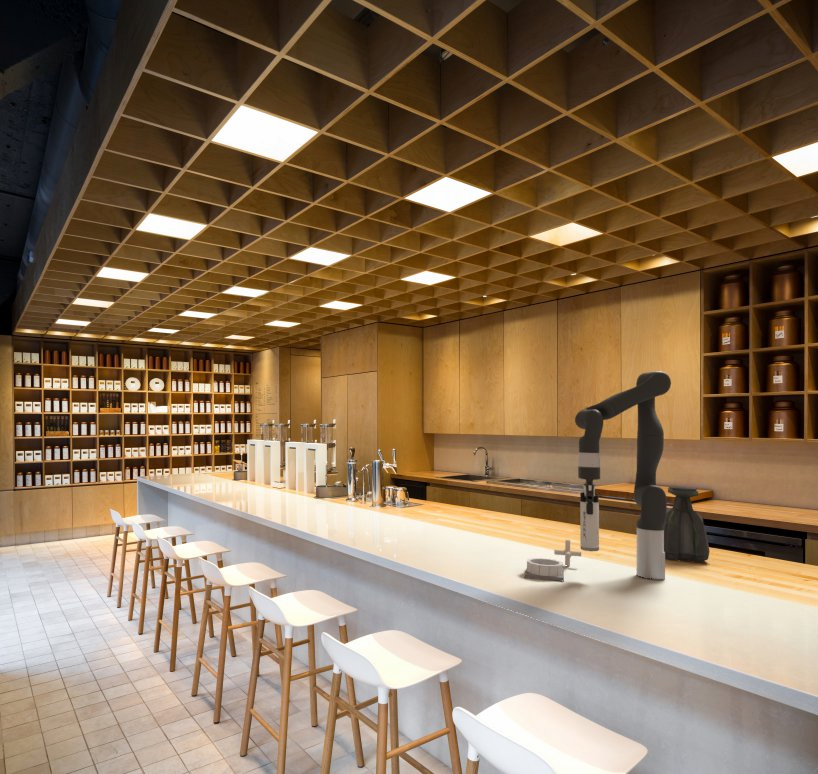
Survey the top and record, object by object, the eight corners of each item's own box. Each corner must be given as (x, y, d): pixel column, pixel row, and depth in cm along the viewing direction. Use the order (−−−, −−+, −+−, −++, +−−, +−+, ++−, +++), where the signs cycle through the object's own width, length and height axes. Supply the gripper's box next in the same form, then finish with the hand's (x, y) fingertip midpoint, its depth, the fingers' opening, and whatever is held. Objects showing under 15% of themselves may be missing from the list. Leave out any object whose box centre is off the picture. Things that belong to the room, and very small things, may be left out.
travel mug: (594, 547, 207) (594, 491, 209) (601, 551, 200) (601, 493, 202) (577, 547, 207) (577, 491, 208) (583, 551, 200) (583, 492, 202)
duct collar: (563, 573, 211) (563, 560, 212) (563, 581, 198) (563, 567, 199) (527, 569, 215) (527, 556, 215) (524, 577, 202) (524, 563, 202)
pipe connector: (582, 570, 217) (582, 543, 218) (554, 568, 219) (555, 541, 220) (579, 564, 227) (580, 538, 227) (553, 562, 229) (554, 537, 229)
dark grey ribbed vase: (664, 560, 242) (664, 488, 244) (656, 553, 258) (657, 485, 260) (710, 564, 238) (710, 490, 240) (700, 556, 253) (700, 487, 256)
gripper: (601, 466, 198) (601, 516, 197) (598, 465, 212) (599, 511, 210) (578, 466, 200) (578, 515, 199) (577, 464, 214) (577, 510, 212)
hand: (589, 513), depth 204 cm, fingers closed on travel mug, 6 cm apart
